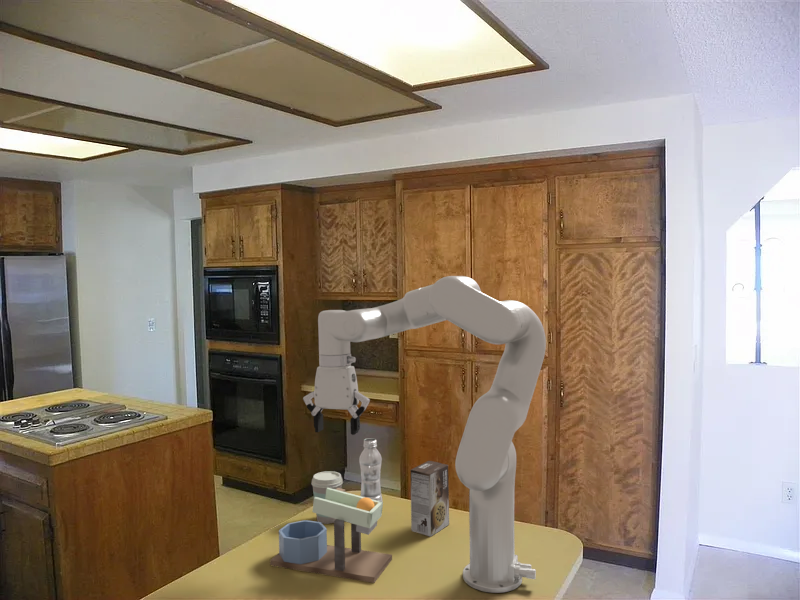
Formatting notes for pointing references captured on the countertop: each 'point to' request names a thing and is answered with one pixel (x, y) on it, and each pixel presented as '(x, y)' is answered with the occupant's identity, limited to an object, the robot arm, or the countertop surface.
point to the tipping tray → (348, 509)
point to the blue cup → (302, 542)
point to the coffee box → (429, 498)
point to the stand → (343, 559)
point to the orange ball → (365, 504)
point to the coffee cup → (319, 489)
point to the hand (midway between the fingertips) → (336, 432)
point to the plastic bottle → (370, 470)
